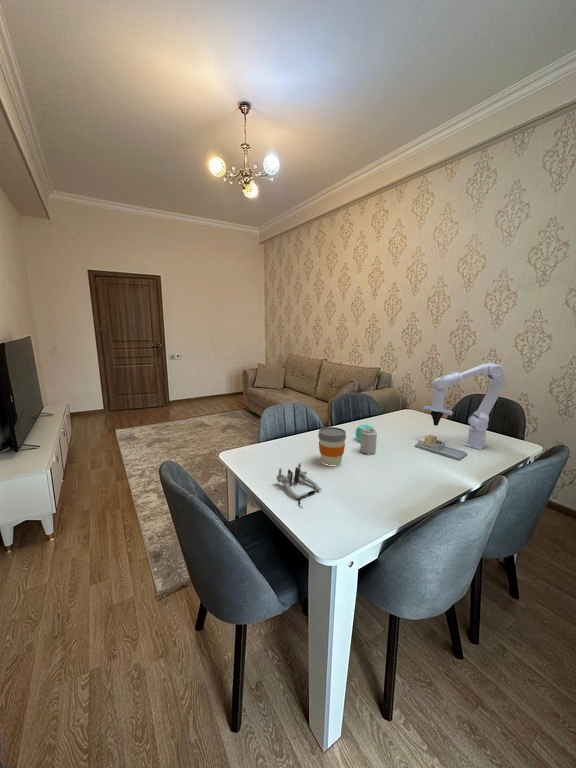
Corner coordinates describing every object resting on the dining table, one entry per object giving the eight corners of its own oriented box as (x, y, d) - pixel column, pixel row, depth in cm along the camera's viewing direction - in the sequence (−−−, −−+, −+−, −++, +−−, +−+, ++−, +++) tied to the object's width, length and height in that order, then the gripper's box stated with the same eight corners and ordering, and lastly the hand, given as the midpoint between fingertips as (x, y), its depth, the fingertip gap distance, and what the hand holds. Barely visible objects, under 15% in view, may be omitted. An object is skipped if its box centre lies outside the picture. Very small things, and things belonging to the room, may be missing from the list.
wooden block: (429, 443, 164) (430, 434, 163) (436, 445, 161) (437, 436, 160) (423, 446, 160) (424, 437, 159) (430, 448, 157) (431, 439, 156)
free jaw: (436, 445, 161) (437, 438, 161) (444, 447, 158) (445, 440, 158) (430, 448, 157) (431, 441, 156) (438, 451, 154) (439, 444, 153)
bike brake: (272, 482, 123) (301, 514, 108) (273, 467, 121) (303, 497, 106) (300, 474, 131) (330, 502, 115) (302, 459, 129) (333, 487, 113)
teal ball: (364, 444, 165) (364, 430, 164) (355, 439, 172) (355, 425, 171) (375, 442, 168) (376, 428, 167) (366, 437, 176) (367, 423, 174)
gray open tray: (423, 442, 168) (424, 435, 167) (467, 455, 152) (468, 447, 151) (414, 446, 162) (415, 439, 161) (459, 460, 145) (460, 452, 145)
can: (376, 455, 151) (377, 432, 149) (360, 454, 152) (361, 431, 150) (375, 449, 158) (376, 427, 156) (360, 448, 160) (361, 426, 157)
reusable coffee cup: (334, 471, 135) (336, 438, 132) (312, 462, 143) (312, 431, 140) (350, 461, 144) (351, 431, 141) (327, 454, 152) (328, 425, 149)
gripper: (421, 399, 166) (419, 423, 169) (449, 404, 155) (446, 430, 158) (427, 397, 171) (425, 420, 173) (455, 402, 160) (452, 427, 162)
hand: (435, 425), depth 166 cm, fingers closed
